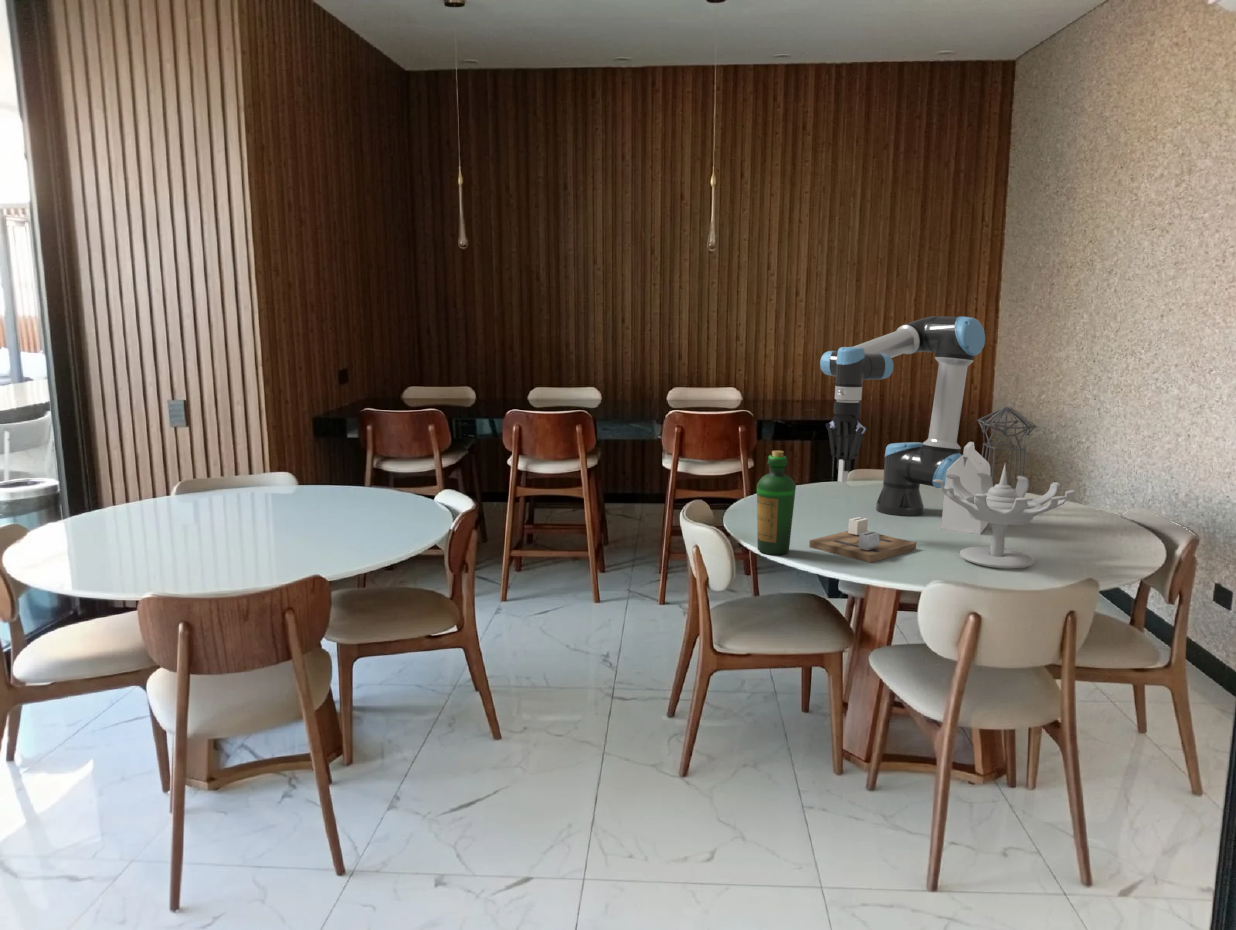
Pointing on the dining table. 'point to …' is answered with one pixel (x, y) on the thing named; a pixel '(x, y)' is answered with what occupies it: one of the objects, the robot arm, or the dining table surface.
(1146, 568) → the dining table surface
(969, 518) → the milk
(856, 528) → the fader
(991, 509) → the candelabra
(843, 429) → the robot arm
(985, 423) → the geometric lantern
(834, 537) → the wooden board
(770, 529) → the bottle
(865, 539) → the fader
